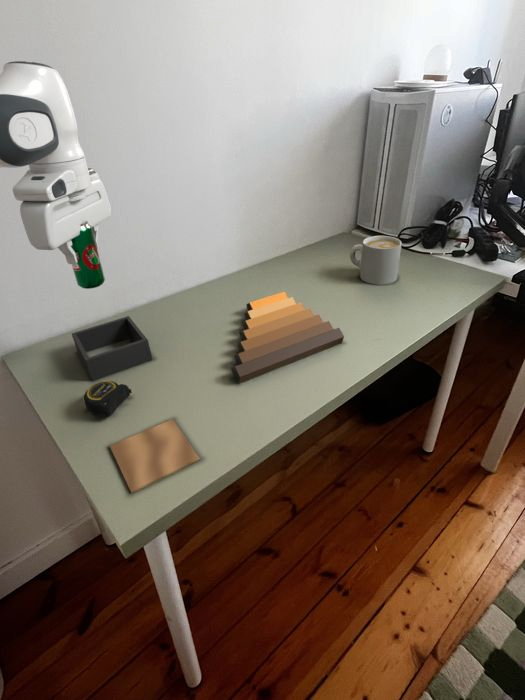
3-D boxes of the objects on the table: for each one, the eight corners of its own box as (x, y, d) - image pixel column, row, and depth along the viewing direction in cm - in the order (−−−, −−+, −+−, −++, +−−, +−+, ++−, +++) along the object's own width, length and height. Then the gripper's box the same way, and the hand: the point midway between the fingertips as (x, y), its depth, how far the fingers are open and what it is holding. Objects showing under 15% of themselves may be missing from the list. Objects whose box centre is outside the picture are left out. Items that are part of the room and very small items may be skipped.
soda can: (77, 282, 84) (58, 220, 78) (103, 276, 86) (88, 216, 80) (79, 292, 81) (60, 228, 74) (107, 286, 82) (91, 223, 76)
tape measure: (110, 423, 76) (105, 406, 74) (79, 414, 78) (73, 398, 76) (133, 399, 81) (129, 383, 79) (104, 391, 83) (99, 376, 81)
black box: (92, 381, 86) (85, 360, 83) (77, 352, 95) (71, 333, 92) (152, 359, 92) (147, 339, 89) (133, 334, 101) (128, 315, 98)
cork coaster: (131, 493, 63) (130, 491, 63) (110, 447, 71) (109, 445, 71) (199, 460, 68) (199, 458, 67) (172, 420, 75) (172, 418, 75)
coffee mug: (403, 275, 120) (408, 240, 114) (385, 288, 114) (389, 251, 108) (362, 264, 128) (364, 231, 122) (342, 275, 122) (344, 241, 116)
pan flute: (240, 385, 83) (343, 344, 93) (239, 371, 81) (344, 331, 91) (190, 330, 101) (281, 301, 111) (188, 317, 99) (280, 289, 109)
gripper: (79, 165, 82) (98, 237, 89) (4, 192, 65) (34, 277, 73) (110, 165, 80) (126, 238, 88) (40, 192, 64) (67, 279, 71)
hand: (84, 256), depth 80 cm, fingers closed on soda can, 5 cm apart
